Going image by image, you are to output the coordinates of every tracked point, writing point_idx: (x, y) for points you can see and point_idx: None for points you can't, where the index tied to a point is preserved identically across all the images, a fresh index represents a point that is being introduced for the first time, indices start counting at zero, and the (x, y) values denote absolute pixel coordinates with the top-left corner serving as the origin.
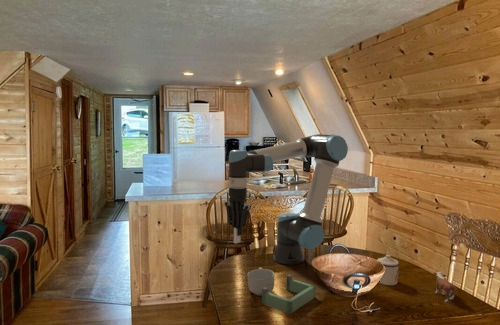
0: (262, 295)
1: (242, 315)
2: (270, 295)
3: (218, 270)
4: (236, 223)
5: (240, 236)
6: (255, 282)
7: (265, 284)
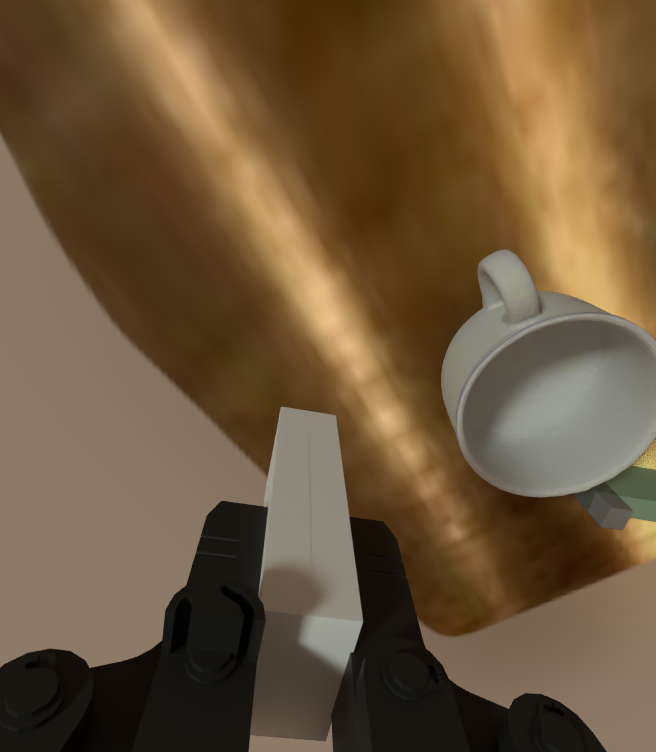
0: (580, 500)
1: (503, 588)
2: (640, 518)
3: (42, 167)
4: (213, 743)
5: (342, 467)
6: (537, 479)
7: (596, 451)
